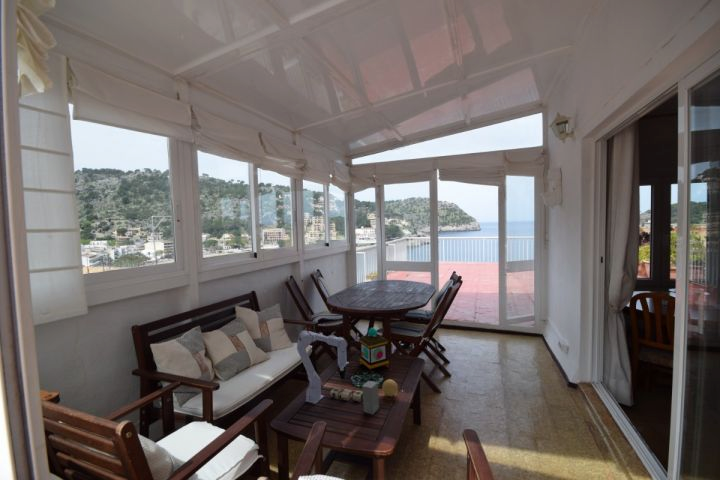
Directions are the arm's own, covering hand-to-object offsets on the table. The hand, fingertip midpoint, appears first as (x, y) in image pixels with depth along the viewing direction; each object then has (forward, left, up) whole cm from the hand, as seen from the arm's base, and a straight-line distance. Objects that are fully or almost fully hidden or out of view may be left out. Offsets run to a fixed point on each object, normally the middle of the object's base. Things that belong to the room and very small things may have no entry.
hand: (343, 376), depth 209 cm
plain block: (-7, -6, -10) cm, 13 cm away
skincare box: (-12, -26, -10) cm, 30 cm away
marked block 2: (-5, -14, -10) cm, 18 cm away
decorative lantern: (+39, -3, -10) cm, 41 cm away
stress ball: (+7, -31, -10) cm, 33 cm away
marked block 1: (-8, +1, -10) cm, 12 cm away
